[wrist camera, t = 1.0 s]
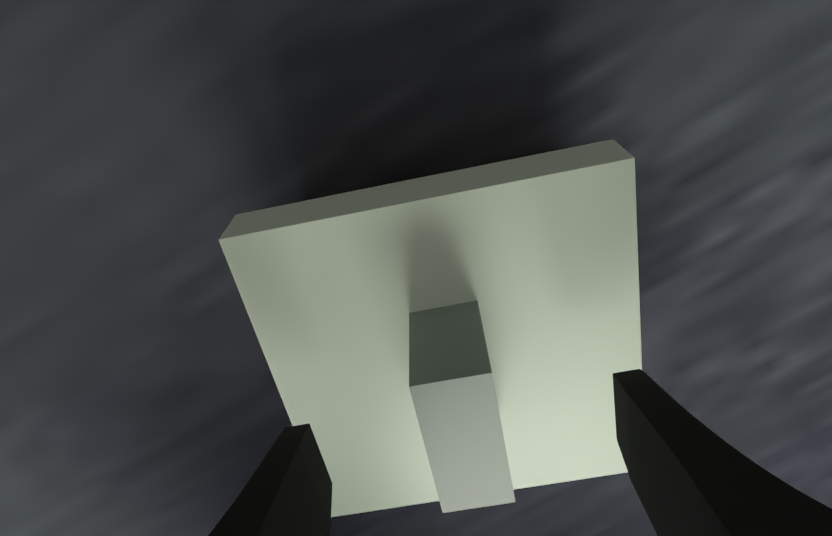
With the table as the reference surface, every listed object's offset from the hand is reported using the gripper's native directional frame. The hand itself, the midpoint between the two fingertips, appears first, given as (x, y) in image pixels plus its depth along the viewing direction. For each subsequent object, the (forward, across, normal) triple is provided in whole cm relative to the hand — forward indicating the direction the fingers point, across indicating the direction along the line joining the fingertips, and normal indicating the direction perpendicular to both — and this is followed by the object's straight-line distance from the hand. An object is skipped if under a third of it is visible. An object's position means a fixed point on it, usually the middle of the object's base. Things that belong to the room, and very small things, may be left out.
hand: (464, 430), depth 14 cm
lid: (+3, 0, 0) cm, 3 cm away
